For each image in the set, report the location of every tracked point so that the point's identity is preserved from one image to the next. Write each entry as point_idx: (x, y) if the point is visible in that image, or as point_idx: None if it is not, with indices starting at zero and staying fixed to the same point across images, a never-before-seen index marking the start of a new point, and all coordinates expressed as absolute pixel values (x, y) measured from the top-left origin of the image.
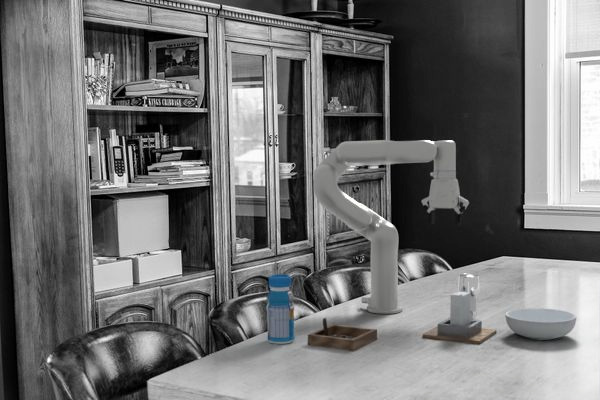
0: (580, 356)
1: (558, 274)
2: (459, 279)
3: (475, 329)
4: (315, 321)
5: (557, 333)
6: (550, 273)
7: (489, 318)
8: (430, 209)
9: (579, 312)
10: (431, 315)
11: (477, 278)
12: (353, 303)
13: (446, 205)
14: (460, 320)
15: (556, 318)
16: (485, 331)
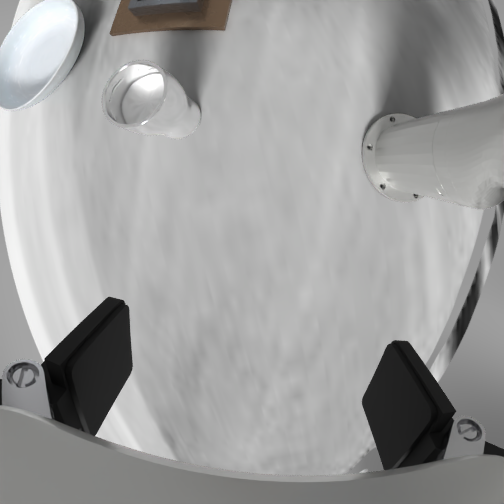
0: (26, 3)
1: None
2: (166, 72)
3: None
4: (470, 44)
5: (27, 31)
6: None
7: (137, 149)
8: (461, 450)
9: (25, 272)
10: (278, 130)
11: (107, 90)
12: (469, 221)
13: (127, 502)
14: None
15: (16, 104)
16: (128, 12)
